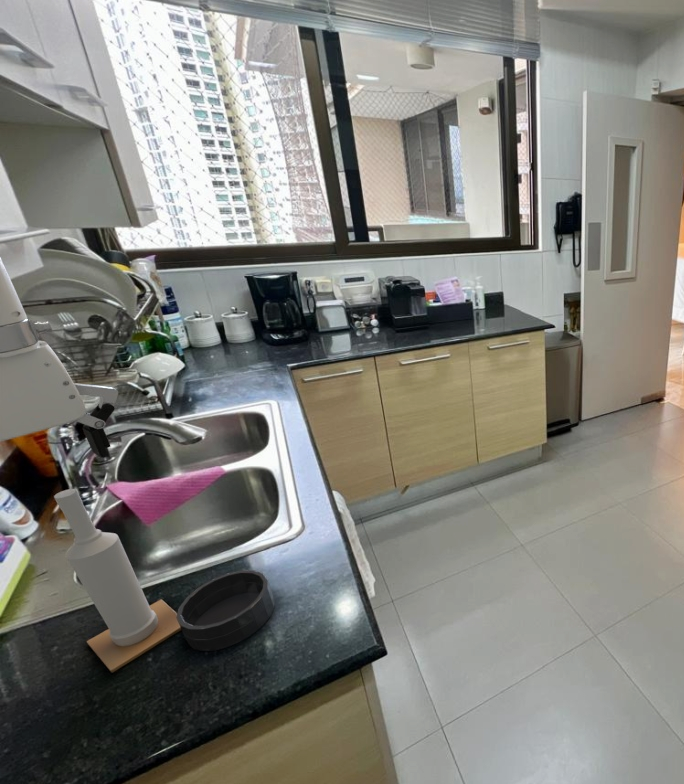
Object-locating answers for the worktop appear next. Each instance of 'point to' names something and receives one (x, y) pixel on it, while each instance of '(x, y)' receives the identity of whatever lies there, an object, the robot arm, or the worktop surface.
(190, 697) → the worktop surface
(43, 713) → the worktop surface
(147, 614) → the bottle
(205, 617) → the dark grey round tray
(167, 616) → the cork mat
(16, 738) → the worktop surface
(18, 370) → the robot arm
